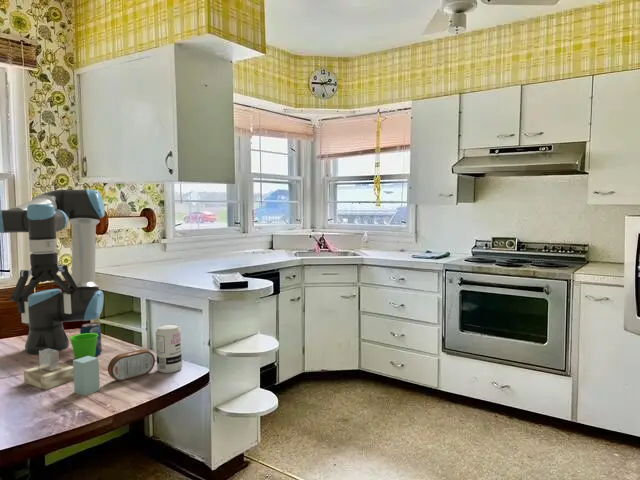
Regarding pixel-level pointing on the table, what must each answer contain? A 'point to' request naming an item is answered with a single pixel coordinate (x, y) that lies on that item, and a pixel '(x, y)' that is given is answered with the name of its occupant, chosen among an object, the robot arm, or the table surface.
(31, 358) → the table surface
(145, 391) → the table surface
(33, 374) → the slotted holder
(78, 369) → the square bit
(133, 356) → the tin
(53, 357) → the grey rectangular block
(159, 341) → the supplement can
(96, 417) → the table surface
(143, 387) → the table surface
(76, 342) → the cup
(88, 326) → the soda can
